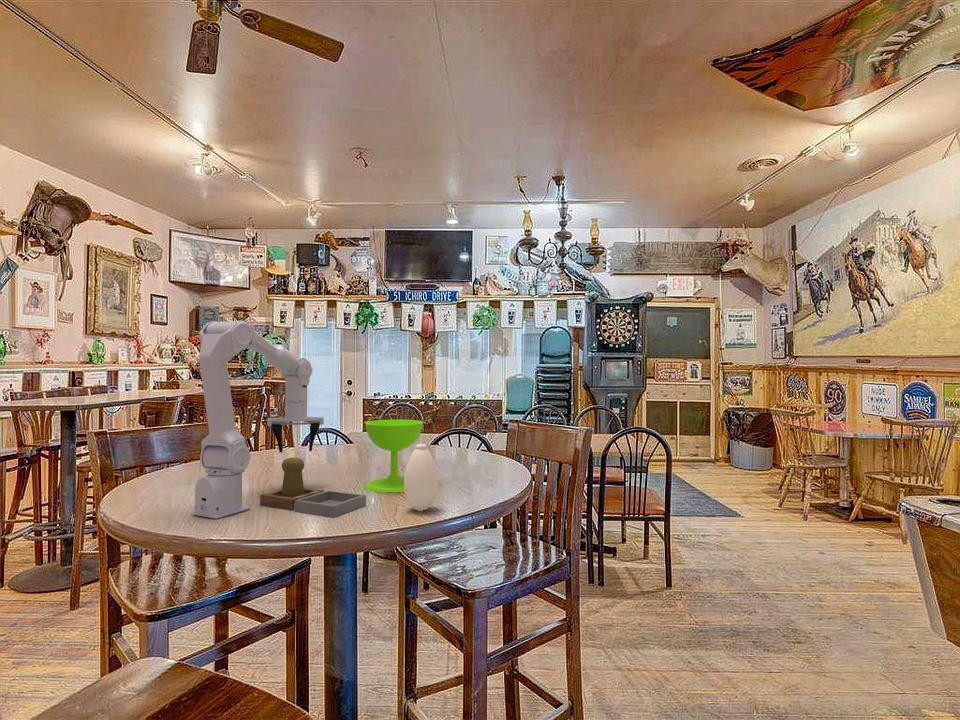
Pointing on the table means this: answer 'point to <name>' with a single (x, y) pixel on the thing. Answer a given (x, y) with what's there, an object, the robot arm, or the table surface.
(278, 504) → the socket block
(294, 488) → the cork
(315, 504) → the tray
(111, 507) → the table surface
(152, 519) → the table surface
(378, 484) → the wineglass
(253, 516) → the table surface
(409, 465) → the sauce bottle
